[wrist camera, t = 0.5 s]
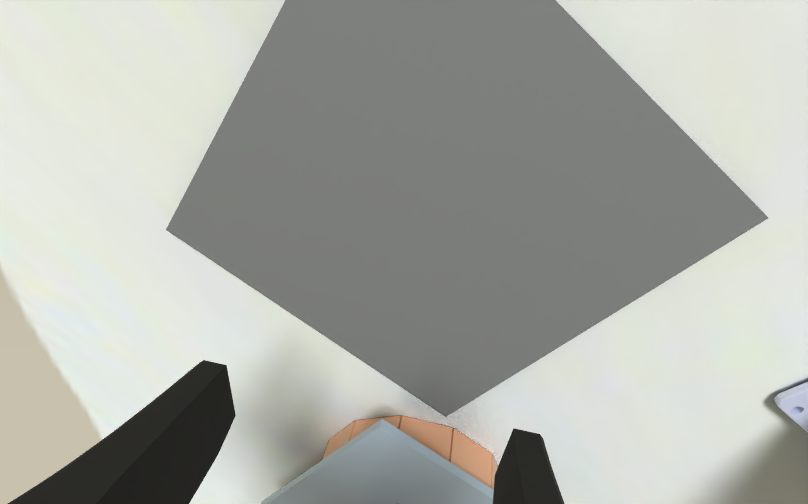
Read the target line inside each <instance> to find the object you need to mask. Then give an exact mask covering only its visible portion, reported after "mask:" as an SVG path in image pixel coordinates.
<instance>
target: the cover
mask: <svg viewBox="0 0 808 504" xmlns="http://www.w3.org/2000/svg"><path fill="white" fill-rule="evenodd" d="M493 493H494V490H493V489H491V488H490V487H488V486H487V485H485V484H483V483H482V482H480V481H479V480H477V479H476V478H474V477H472V476H471V475H469V474H468V473H466V472H465V471H463V470H461V469H460V468H458V467H457V466H455V465H454V464H452V463H451V462H449V461H447V460H446V459H444V458H443V457H441V456H440V455H438V454H436V453H435V452H433V451H432V450H430V449H429V448H427V447H426V446H424V445H422V444H421V443H419V442H418V441H416V440H415V439H413V438H411V437H410V436H408V435H407V434H405V433H404V432H402V431H400V430H399V429H397V428H396V427H394V426H393V425H391V424H390V423H388V422H386V421H385V420H383V419H381V420H379V421H378V422H376V423H375V424H373V425H372V426H371V427H369V428H368V429H366V430H365V431H363V432H362V433H360V434H359V435H358V436H356V437H355V438H353V439H352V440H350V441H349V442H347V443H346V444H345V445H343V446H342V447H340V448H339V449H337V450H336V451H334V452H333V453H332V454H330V455H329V456H327V457H326V458H324V459H323V460H321V461H320V462H319V463H317V464H316V465H314V466H313V467H311V468H310V469H308V470H307V471H306V472H304V473H303V474H301V475H300V476H298V477H297V478H295V479H294V480H293V481H291V482H290V483H288V484H287V485H285V486H284V487H282V488H281V489H280V490H278V491H277V492H275V493H274V494H272V495H271V496H269V497H268V498H266V499H265V500H264V501H262V503H261V504H493Z"/></svg>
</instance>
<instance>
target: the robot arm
mask: <svg viewBox="0 0 808 504" xmlns="http://www.w3.org/2000/svg"><path fill="white" fill-rule="evenodd" d="M774 401H775V403H776V404H777V406H778V407H779V409H780V410H782V411H783V412H784V413H785V414H786V415H787V416H789V417H790V418H791V419H792V420H793V421H794V422H796V423H797V424H798V425H799V426H800V427H801V428H802V429H804V430H805V431H806V432H807V433H808V382H806V383H803V384H801V385H798V386H796V387H793V388H791V389H789V390H786V391H784V392H781V393H779V394H778V395H777V396H776V397H775V399H774ZM234 418H235V410H234V405H233V399H232V394H231V388H230V382H229V377H228V371H227V366H226V365H223V364H218V363H214V362H209V361H205V360H203V361H202V362H200V363H199V364H198V365H196V366H195V367H194V368H193V369H192V370H190V371H189V372H188V373H187V374H185V375H184V376H183V377H182V378H181V379H179V380H178V381H177V382H176V383H174V384H173V385H172V386H171V387H170V388H168V389H167V390H166V391H165V392H163V393H162V394H161V395H160V396H158V397H157V398H156V399H155V400H154V401H152V402H151V403H150V404H149V405H147V406H146V407H145V408H143V409H142V410H141V411H140V412H138V413H137V414H136V415H134V416H133V417H132V418H131V419H129V420H128V421H127V422H125V423H124V424H123V425H122V426H120V427H119V428H118V429H116V430H115V431H114V432H112V433H111V434H110V435H108V436H107V437H106V438H104V439H103V440H101V441H100V442H99V443H97V444H96V445H95V446H93V447H92V448H91V449H89V450H88V451H86V452H85V453H83V454H82V455H81V456H79V457H78V458H76V459H75V460H74V461H72V462H71V463H69V464H68V465H67V466H65V467H64V468H62V469H61V470H59V471H58V472H57V473H55V474H53V475H52V476H50V477H49V478H47V479H46V480H44V481H43V482H41V483H40V484H38V485H37V486H35V487H33V488H32V489H30V490H29V491H27V492H26V493H24V494H23V495H21V496H19V497H18V498H16V499H15V500H13V501H11V502H10V503H8V504H189V503H190V501H191V499H192V498H193V496H194V494H195V493H196V491H197V489H198V488H199V486H200V484H201V483H202V481H203V479H204V477H205V476H206V474H207V472H208V471H209V469H210V467H211V466H212V464H213V462H214V460H215V459H216V457H217V455H218V453H219V451H220V449H221V447H222V444H223V442H224V440H225V438H226V436H227V434H228V431H229V429H230V427H231V424H232V422H233V420H234ZM493 504H564V501H563V499H562V496H561V493H560V490H559V487H558V485H557V482H556V479H555V476H554V473H553V470H552V467H551V464H550V461H549V457H548V454H547V451H546V447H545V444H544V440H543V438H542V437H541V435H540V434H536V433H532V432H527V431H523V430H518V429H513V431H512V434H511V436H510V439H509V441H508V444H507V446H506V449H505V451H504V454H503V456H502V459H501V461H500V463H499V466H498V468H497V471H496V473H495V479H494V493H493Z"/></svg>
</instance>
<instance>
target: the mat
mask: <svg viewBox="0 0 808 504" xmlns="http://www.w3.org/2000/svg"><path fill="white" fill-rule="evenodd" d="M766 219H768V217H767V216H766V215H765V214H764V213H763V212H762V211H761V210H760V209H759V208H758V207H757V206H756V205H755V204H754V203H753V202H752V201H751V200H750V198H749V197H748V196H747V195H746V194H745V193H744V192H743V191H742V190H741V189H740V188H739V187H738V186H737V185H736V184H735V183H734V182H733V181H732V180H731V179H730V178H729V177H728V176H727V175H726V174H725V173H724V172H723V171H722V170H721V169H720V168H719V167H718V166H717V165H716V164H715V163H714V162H713V161H712V160H711V159H710V158H709V157H708V156H707V155H706V154H705V153H704V152H703V151H702V150H701V149H700V148H699V146H698V145H697V144H696V143H695V142H694V141H693V140H692V139H691V138H690V137H689V136H688V135H687V134H686V133H685V132H684V131H683V130H682V129H681V128H680V127H679V126H678V125H677V124H676V123H675V122H674V121H673V120H672V119H671V118H670V117H669V116H668V115H667V114H666V113H665V112H664V111H663V110H662V109H661V108H660V107H659V106H658V105H657V104H656V103H655V102H654V101H653V100H652V99H651V98H650V97H649V96H648V94H647V93H646V92H645V91H644V90H643V89H642V88H641V87H640V86H639V85H638V84H637V83H636V82H635V81H634V80H633V79H632V78H631V77H630V76H629V75H628V74H627V73H626V72H625V71H624V70H623V69H622V68H621V67H620V66H619V65H618V64H617V63H616V62H615V61H614V60H613V59H612V58H611V57H610V56H609V55H608V54H607V53H606V52H605V51H604V50H603V49H602V48H601V47H600V46H599V45H598V44H597V42H596V41H595V40H594V39H593V38H592V37H591V36H590V35H589V34H588V33H587V32H586V31H585V30H584V29H583V28H582V27H581V26H580V25H579V24H578V23H577V22H576V21H575V20H574V19H573V18H572V17H571V16H570V15H569V14H568V13H567V12H566V11H565V10H564V9H563V8H562V7H561V6H560V5H559V4H558V3H557V2H556V1H555V0H285V2H284V4H283V6H282V8H281V10H280V12H279V14H278V16H277V18H276V20H275V22H274V23H273V25H272V27H271V29H270V31H269V33H268V35H267V37H266V39H265V41H264V43H263V45H262V47H261V48H260V50H259V52H258V54H257V56H256V58H255V60H254V62H253V64H252V66H251V68H250V70H249V71H248V73H247V75H246V77H245V79H244V81H243V83H242V85H241V87H240V89H239V91H238V93H237V95H236V96H235V98H234V100H233V102H232V104H231V106H230V108H229V110H228V112H227V114H226V116H225V118H224V119H223V121H222V123H221V125H220V127H219V129H218V131H217V133H216V135H215V137H214V139H213V141H212V143H211V144H210V146H209V148H208V150H207V152H206V154H205V156H204V158H203V160H202V162H201V164H200V166H199V167H198V169H197V171H196V173H195V175H194V177H193V179H192V181H191V183H190V185H189V187H188V189H187V191H186V192H185V194H184V196H183V198H182V200H181V202H180V204H179V206H178V208H177V210H176V212H175V214H174V215H173V217H172V219H171V221H170V223H169V225H168V227H167V229H166V230H167V231H169V232H170V233H172V234H173V235H175V236H176V237H178V238H179V239H181V240H182V241H184V242H185V243H187V244H188V245H190V246H191V247H193V248H194V249H196V250H197V251H199V252H200V253H202V254H203V255H205V256H206V257H208V258H209V259H211V260H212V261H214V262H215V263H217V264H218V265H220V266H221V267H223V268H224V269H226V270H227V271H229V272H230V273H232V274H233V275H235V276H236V277H238V278H239V279H241V280H242V281H244V282H245V283H247V284H248V285H249V286H251V287H252V288H254V289H255V290H257V291H258V292H260V293H261V294H263V295H264V296H266V297H267V298H269V299H270V300H272V301H273V302H275V303H276V304H278V305H279V306H281V307H282V308H284V309H285V310H287V311H288V312H290V313H291V314H293V315H294V316H296V317H297V318H299V319H300V320H302V321H303V322H305V323H306V324H308V325H309V326H311V327H312V328H314V329H315V330H317V331H318V332H320V333H321V334H323V335H324V336H326V337H327V338H329V339H330V340H332V341H333V342H335V343H336V344H338V345H339V346H341V347H342V348H344V349H345V350H347V351H348V352H350V353H351V354H353V355H354V356H356V357H357V358H359V359H360V360H362V361H363V362H365V363H366V364H368V365H369V366H371V367H372V368H374V369H375V370H377V371H378V372H380V373H381V374H383V375H384V376H386V377H387V378H389V379H390V380H392V381H393V382H395V383H396V384H398V385H399V386H401V387H402V388H404V389H405V390H407V391H408V392H410V393H411V394H413V395H414V396H416V397H417V398H419V399H420V400H422V401H423V402H425V403H426V404H428V405H429V406H431V407H432V408H434V409H435V410H437V411H438V412H440V413H441V414H443V415H444V416H448V415H449V414H451V413H453V412H454V411H456V410H458V409H459V408H461V407H462V406H464V405H466V404H467V403H469V402H471V401H472V400H474V399H475V398H477V397H479V396H480V395H482V394H484V393H485V392H487V391H488V390H490V389H492V388H493V387H495V386H497V385H498V384H500V383H501V382H503V381H505V380H506V379H508V378H510V377H511V376H513V375H514V374H516V373H518V372H519V371H521V370H523V369H524V368H526V367H527V366H529V365H531V364H532V363H534V362H536V361H537V360H539V359H540V358H542V357H544V356H545V355H547V354H549V353H550V352H552V351H553V350H555V349H557V348H558V347H560V346H561V345H563V344H565V343H566V342H568V341H570V340H571V339H573V338H574V337H576V336H578V335H579V334H581V333H583V332H584V331H586V330H587V329H589V328H591V327H592V326H594V325H596V324H597V323H599V322H600V321H602V320H604V319H605V318H607V317H609V316H610V315H612V314H613V313H615V312H617V311H618V310H620V309H622V308H623V307H625V306H626V305H628V304H630V303H631V302H633V301H635V300H636V299H638V298H639V297H641V296H643V295H644V294H646V293H648V292H649V291H651V290H652V289H654V288H656V287H657V286H659V285H661V284H662V283H664V282H665V281H667V280H669V279H670V278H672V277H674V276H675V275H677V274H678V273H680V272H682V271H683V270H685V269H687V268H688V267H690V266H691V265H693V264H695V263H696V262H698V261H700V260H701V259H703V258H704V257H706V256H708V255H709V254H711V253H713V252H714V251H716V250H717V249H719V248H721V247H722V246H724V245H726V244H727V243H729V242H730V241H732V240H734V239H735V238H737V237H738V236H740V235H742V234H743V233H745V232H747V231H748V230H750V229H751V228H753V227H755V226H756V225H758V224H760V223H761V222H763V221H764V220H766Z"/></svg>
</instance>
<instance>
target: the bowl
mask: <svg viewBox="0 0 808 504" xmlns="http://www.w3.org/2000/svg"><path fill="white" fill-rule="evenodd" d="M381 419H383V420H385V421H386V422H388V423H390V424H391V425H393V426H394V427H396V428H397V429H399V430H400V431H402V432H404V433H405V434H407V435H408V436H410V437H411V438H413V439H415V440H416V441H418V442H419V443H421V444H422V445H424V446H426V447H427V448H429V449H430V450H432V451H433V452H435V453H436V454H438V455H440V456H441V457H443V458H444V459H446V460H447V461H449V462H451V463H452V464H454V465H455V466H457V467H458V468H460V469H461V470H463V471H465V472H466V473H468V474H469V475H471V476H472V477H474V478H476V479H477V480H479V481H480V482H482V483H483V484H485V485H487V486H488V487H490V488H491V489H493V490H494V479H495V473H496V471H497V468H498V465H497V463H496V461H495V459H494V456H493V454H492V453H490V452H489V451H487V450H486V449H484V448H483V447H481V446H480V445H478V444H477V443H475V442H474V441H472V440H471V439H469V438H468V437H466V436H465V435H463V434H462V433H460V432H459V431H457V430H456V429H452V428H451V427H447V426H443V425H439V424H435V423H431V422H427V421H422V420H418V419H414V418H410V417H406V416H402V417H401V416H391V417H382V418H373V419H363V420H356V421H354V422H352V423H351V424H350V425H348V426H347V427H346V428H344V429H343V430H341V431H340V432H339V433H337V434H336V435H335V436H333V437H332V438H330V439H329V442H328V445H327V447H326V450H325V453H324V456H323V459H324V458H326V457H327V456H329V455H330V454H332V453H333V452H334V451H336V450H337V449H339V448H340V447H342V446H343V445H345V444H346V443H347V442H349V441H350V440H352V439H353V438H355V437H356V436H358V435H359V434H360V433H362V432H363V431H365V430H366V429H368V428H369V427H371V426H372V425H373V424H375V423H376V422H378V421H379V420H381ZM323 459H322V460H323Z"/></svg>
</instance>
